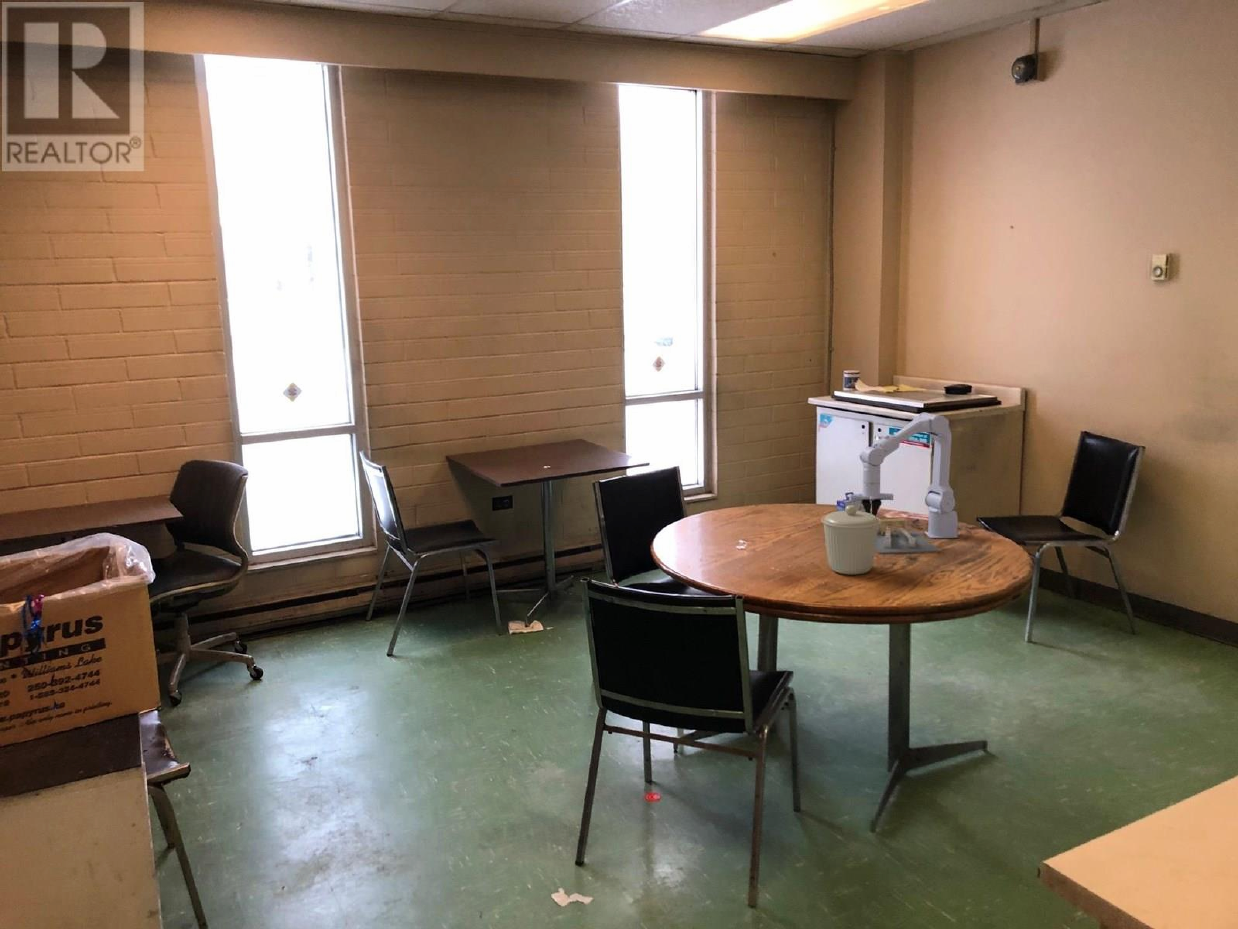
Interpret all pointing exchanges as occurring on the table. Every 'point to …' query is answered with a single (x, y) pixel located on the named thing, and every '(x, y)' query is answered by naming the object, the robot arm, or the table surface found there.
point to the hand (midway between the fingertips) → (871, 520)
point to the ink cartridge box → (849, 503)
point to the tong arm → (887, 538)
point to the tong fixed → (906, 537)
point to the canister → (850, 540)
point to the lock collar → (890, 523)
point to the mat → (901, 547)
